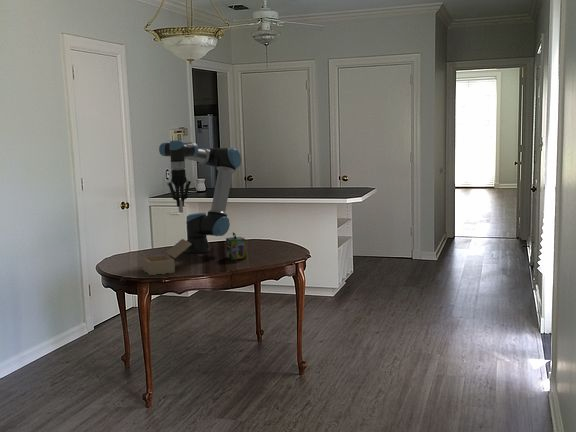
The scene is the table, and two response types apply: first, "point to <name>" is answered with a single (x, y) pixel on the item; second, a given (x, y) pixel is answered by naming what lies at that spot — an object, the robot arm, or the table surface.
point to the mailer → (158, 264)
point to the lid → (178, 248)
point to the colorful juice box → (236, 247)
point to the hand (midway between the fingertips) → (180, 212)
